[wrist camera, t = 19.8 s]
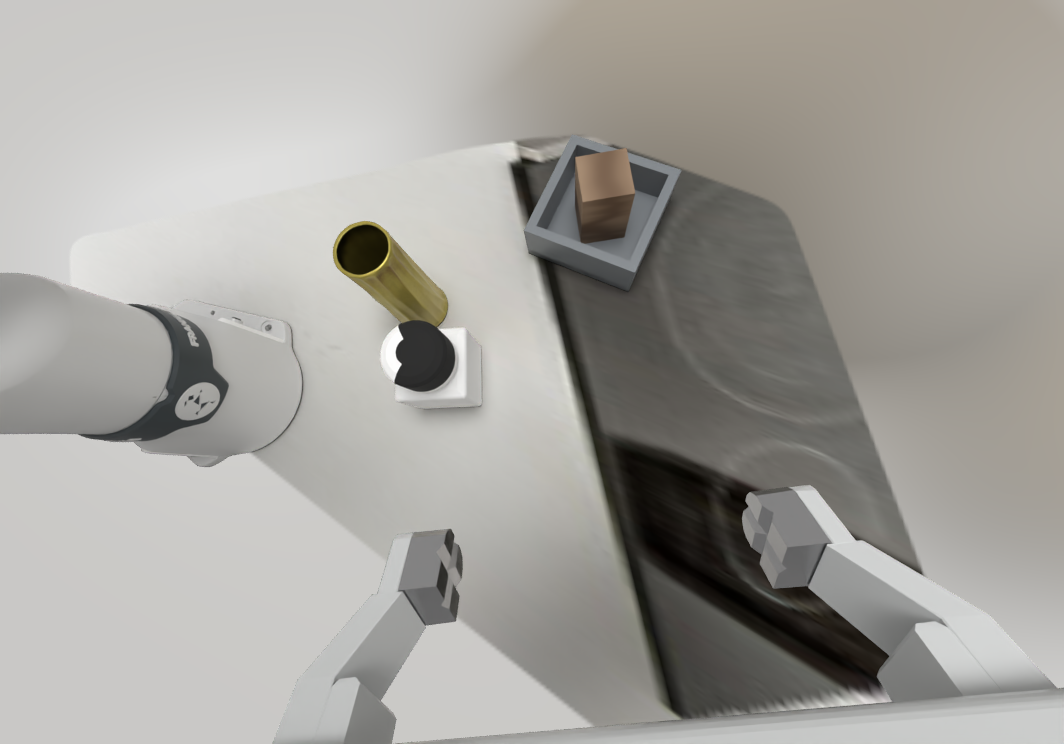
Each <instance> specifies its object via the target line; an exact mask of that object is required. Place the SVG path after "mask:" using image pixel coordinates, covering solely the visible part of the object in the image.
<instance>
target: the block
mask: <svg viewBox="0 0 1064 744" xmlns="http://www.w3.org/2000/svg"><path fill="white" fill-rule="evenodd" d="M634 196H635V189H634V184H633V179H632V174H631V169H630V164H629V159H628V153H627V148H624V149H619V150H613V151H607V152H602V153H596V154H590V155H584V156H579V157H575V211H576V217H577V223H578V230H579V236H580V242H581V243H583V244H586V243H593V242H599V241H605V240H611V239H618V238H624V237H625V233H626V229H627V225H628V221H629V217H630V213H631V208H632V204H633V200H634Z"/></svg>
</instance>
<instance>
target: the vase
mask: <svg viewBox="0 0 1064 744" xmlns="http://www.w3.org/2000/svg"><path fill="white" fill-rule="evenodd" d="M333 258H334V263H335V265H336V267H337V268H338V269H339V270H340V271H341V272H342V273H343V274H344V275H346V276H347V277H349V278H350V279H351V280H353V281H354V282H355V283H356V284H358V285H359V286H360V287H362V288H363V289H364V290H365V291H367V292H368V293H369V294H370V295H371V296H372V297H373V298H374V299H375V300H376V301H377V302H378V303H380V304H381V305H383V306H384V307H385V308H386V309H387V310H388V311H389V312H390V313H391V314H392V315H393V316H395V317H396V318H397V319H398V320H399V321H401V322H402V323H404V322H407V321H411V320H421V321H425V322H428V323H430V324H432V325H434V326H435V327H437V326H438V325H439V324H440V323H441V322H442V321H443V319H444V318H445V316H446V313H447V308H448V303H447V298H446V296H445V294H444V292H443V291H442V290H441V289H440V288H438V287H437V286H436V284H435V283H434V282H433V281H432V280H431V279H430V278H429V277H428V276H427V275H426V274H425V273H424V272H423V271H422V270H421V268H420V267H419V266H418V265H417V264H416V263H415V262H414V261H413V260H412V259H411V258H410V257H409V256H408V254H407V253H406V252H405V251H404V250H403V249H402V248H401V247H400V246H399V245H398V243H397V242H396V241H395V240H394V239H393V238H392V237H391V236H390V234H389V233H388V232H387V231H386V230H385V229H383V228H382V227H381V226H380V225H378V224H376V223H373V222H369V221H362V222H358V223H354V224H352V225H350V226H348V227H347V228H345V229H344V230H343V231H342V232H341V233H340V234H339V236H338V237H337V239H336V241H335V244H334V247H333Z"/></svg>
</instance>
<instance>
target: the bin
mask: <svg viewBox="0 0 1064 744" xmlns="http://www.w3.org/2000/svg"><path fill="white" fill-rule="evenodd" d="M613 150H618V149H615V148H612V147H609V146H606V145H603V144H600V143H597V142H594V141H591V140H588V139H584V138H581V137H578V136H575V135H572V136H571V138H570V140H569V142H568V144H567V146H566V148H565V150H564V152H563V154H562V156H561V158H560V160H559V162H558V164H557V166H556V168H555V170H554V172H553V174H552V176H551V178H550V180H549V182H548V184H547V186H546V188H545V190H544V192H543V194H542V196H541V198H540V200H539V201H538V203H537V205H536V207H535V209H534V211H533V213H532V215H531V217H530V219H529V221H528V223H527V225H526V227H525V229H524V233H525V238H526V242H527V247H528V252H529V253H530V254H532V255H535V256H537V257H540V258H543V259H545V260H548V261H550V262H553V263H555V264H558V265H560V266H563V267H566V268H568V269H571V270H573V271H576V272H578V273H581V274H584V275H586V276H589V277H591V278H594V279H596V280H599V281H602V282H604V283H607V284H609V285H612V286H614V287H617V288H620V289H622V290H625V291H627V292H628V291H629V289H630V287H631V285H632V282H633V280H634V278H635V276H636V273H637V271H638V269H639V267H640V265H641V262H642V260H643V258H644V256H645V253H646V251H647V249H648V247H649V245H650V242H651V240H652V238H653V236H654V233H655V231H656V229H657V227H658V225H659V222H660V220H661V218H662V216H663V214H664V211H665V209H666V207H667V205H668V202H669V200H670V198H671V195H672V193H673V190H674V188H675V185H676V183H677V180H678V177H679V175H680V172H681V170H679V169H676V168H673V167H670V166H667V165H664V164H661V163H658V162H655V161H652V160H649V159H646V158H643V157H640V156H637V155H633V154H630V153H628V159H629V164H630V169H631V174H632V179H633V184H634V189H635V196H634V200H633V204H632V208H631V213H630V217H629V221H628V225H627V229H626V233H625V237H624V238H618V239H611V240H605V241H599V242H593V243H586V244H583V243H581V242H580V236H579V230H578V223H577V217H576V211H575V157H579V156H584V155H590V154H596V153H602V152H607V151H613Z"/></svg>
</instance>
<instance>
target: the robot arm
mask: <svg viewBox="0 0 1064 744" xmlns="http://www.w3.org/2000/svg"><path fill="white" fill-rule="evenodd" d="M271 327H272V329H271V330H270V328H271ZM301 392H302V375H301V370H300V366H299V363H298V361H297V359H296V357H295V354H294V352H293V350H292V335H291V328H290V326H289V324H288V323H286V322H283V321H279V320H275V319H271V318H267V317H262V316H258V315H254V314H249V313H245V312H241V311H236V310H232V309H228V308H223V307H219V306H215V305H210V304H206V303H202V302H197V301H193V300H183V301H181V302H180V303H178V304H176V305H175V306H174V307H172V308H167V307H163V306H159V305H154V304H150V305H146V306H143V305H139V304H124V303H121V302H118V301H115V300H112V299H109V298H106V297H103V296H99V295H96V294H93V293H90V292H87V291H84V290H81V289H78V288H75V287H72V286H69V285H66V284H62V283H60V282H56V281H53V280H50V279H47V278H44V277H40V276H36V275H30V274H20V273H0V434H78V435H81V436H83V437H86V438H90V439H99V440H104V441H111V442H134V443H135V444H136V445H137V446H139V447H141V451H143V452H145V453H150V454H165V455H182V456H187V457H189V458H190V460H192V461H193V462H194V463H195V464H196V465H197V466H201V467H211V466H214V465H216V464H218V463H219V462H221V461H223V460H224V459H226V458H227V457H229V456H232V455H236V454H243V453H248V452H252V451H255V450H258V449H260V448H262V447H264V446H266V445H268V444H269V443H271V442H272V441H273V440H275V439H276V438H277V437H278V436H279V435H280V434H281V433H282V432H283V431H284V430H285V429H286V427H287V426H288V425H289V423H290V422H291V420H292V418H293V417H294V415H295V413H296V410H297V408H298V405H299V402H300V398H301ZM746 502H747V504H748V506H749V507H748V508H747V509H746V510H745V511H743V517H742V522H743V528H744V532H745V535H746V537H747V539H748V541H749V543H750V545H751V547H752V548H753V549H755V550H756V551H758V552H759V553H760V554H762V556H761V560H760V564H761V566H762V568H763V570H764V572H765V574H766V576H767V577H768V579H769V581H770V583H771V585H772V587H773V588H785V587H798V586H809V587H808V588H809V589H811V590H812V591H813V592H814V593H815V594H817V595H818V596H819V597H820V598H821V599H822V600H824V601H825V602H826V603H827V604H828V605H830V606H831V607H832V608H833V609H834V610H836V611H837V612H838V613H839V614H840V615H842V616H843V617H844V618H845V619H846V620H848V621H849V622H850V623H851V624H852V625H854V626H855V627H856V628H857V629H858V630H860V631H861V632H862V633H863V634H864V635H866V636H867V637H868V638H869V639H870V640H872V641H873V642H874V643H875V644H876V645H877V646H879V647H880V648H881V649H882V650H883V651H885V652H886V653H887V654H888V655H889V656H890V657H889V658H888V659H887V661H886V662H885V663H884V664H883V666H882V667H881V668H880V669H879V672H878V675H877V678H878V679H879V681H880V682H881V684H882V686H883V687H884V689H885V690H886V692H887V694H888V695H889V697H890V699H891V700H892V702H887V703H876V704H864V705H852V706H840V707H828V708H816V709H804V710H792V711H780V712H768V713H756V714H744V715H732V716H720V717H708V718H696V719H684V720H672V721H660V722H648V723H636V724H624V725H612V726H600V727H588V728H576V729H564V730H554V731H541V732H529V733H517V734H505V735H493V736H481V737H469V738H457V739H445V740H433V741H422V742H410V743H397V744H1064V688H1056V686H1055V685H1054V684H1053V683H1052V682H1051V681H1050V680H1049V679H1048V678H1047V677H1046V676H1045V674H1044V673H1043V672H1042V671H1041V670H1040V669H1039V668H1038V667H1037V666H1036V665H1035V664H1034V663H1033V662H1032V661H1031V659H1030V658H1029V657H1028V656H1027V655H1026V654H1025V653H1024V652H1023V651H1022V650H1021V649H1020V648H1019V646H1018V645H1017V644H1016V643H1015V642H1014V641H1013V640H1012V639H1011V638H1010V637H1009V636H1008V635H1007V633H1006V632H1005V631H1004V630H1003V629H1002V628H1001V627H1000V626H999V625H998V624H997V623H996V622H995V621H994V620H993V618H992V617H991V616H990V615H989V614H987V613H985V612H984V611H982V610H980V609H978V608H977V607H975V606H973V605H971V604H970V603H968V602H966V601H965V600H963V599H961V598H959V597H958V596H956V595H955V594H953V593H951V592H950V591H948V590H946V589H944V588H943V587H941V586H939V585H938V584H936V583H934V582H932V581H931V580H929V579H927V578H926V577H924V576H922V575H921V574H919V573H917V572H915V571H914V570H912V569H910V568H909V567H907V566H905V565H903V564H902V563H900V562H898V561H897V560H895V559H893V558H892V557H890V556H888V555H886V554H885V553H883V552H881V551H880V550H878V549H876V548H875V547H873V546H871V545H869V544H868V543H866V542H864V541H863V540H861V541H856V540H855V539H854V538H853V536H852V535H851V534H850V533H849V531H848V530H847V529H846V527H845V526H844V525H843V524H842V522H841V521H840V520H839V519H838V517H837V516H836V515H835V513H834V512H833V511H832V510H831V508H830V507H829V506H828V505H827V503H826V502H825V501H824V500H823V498H822V497H821V496H820V494H819V493H818V492H817V491H816V489H815V488H813V487H812V486H810V485H803V486H796V487H789V488H788V487H784V488H776V489H769V490H762V491H755V492H750V493H749V494H747V498H746ZM453 541H454V534H453V532H452V530H451V529H444V530H434V531H425V532H414V533H405V534H397V536H396V537H395V539H394V540H393V543H392V546H391V549H390V553H389V556H388V559H387V563H386V566H385V569H384V573H383V576H382V579H381V583H380V587H379V590H378V593H377V594H372V595H371V596H370V597H369V599H368V600H367V601H366V602H365V603H364V604H363V606H362V607H361V608H360V609H359V610H358V611H357V612H356V614H355V615H354V616H353V617H352V618H351V619H350V621H349V622H348V623H347V624H346V625H345V626H344V627H343V629H342V630H341V631H340V632H339V633H338V634H337V635H336V637H335V638H334V639H333V640H332V641H331V642H330V644H329V645H328V646H327V647H326V648H325V649H324V650H323V652H322V653H321V654H320V655H319V656H318V657H317V659H316V660H315V661H314V662H313V663H312V664H311V665H310V667H309V668H308V669H307V670H306V671H305V672H304V673H303V675H302V676H301V677H300V678H299V679H298V680H297V683H296V685H295V688H294V690H293V693H292V695H291V698H290V700H289V703H288V706H287V708H286V710H285V713H284V716H283V718H282V721H281V723H280V726H279V728H278V731H277V733H276V736H275V738H274V741H273V744H392V739H393V734H394V729H395V723H396V718H395V716H394V714H393V713H392V712H391V711H390V710H389V709H388V708H387V707H386V706H385V705H384V704H383V703H382V702H381V699H382V698H383V696H384V694H385V693H386V691H387V690H388V688H389V686H390V685H391V683H392V681H393V680H394V678H395V677H396V675H397V673H398V672H399V670H400V669H401V667H402V665H403V664H404V662H405V660H406V659H407V657H408V656H409V654H410V652H411V651H412V649H413V647H414V646H415V644H416V643H417V641H418V640H419V638H420V636H421V635H422V633H423V631H424V630H425V628H426V627H425V626H426V625H432V624H440V623H448V622H455V621H456V618H457V610H458V603H459V594H458V592H457V590H456V588H455V587H456V586H457V585H458V583H459V582H460V581H461V579H462V570H463V564H462V554H461V550H460V547H459V545H458V544H456V543H454V542H453Z"/></svg>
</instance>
